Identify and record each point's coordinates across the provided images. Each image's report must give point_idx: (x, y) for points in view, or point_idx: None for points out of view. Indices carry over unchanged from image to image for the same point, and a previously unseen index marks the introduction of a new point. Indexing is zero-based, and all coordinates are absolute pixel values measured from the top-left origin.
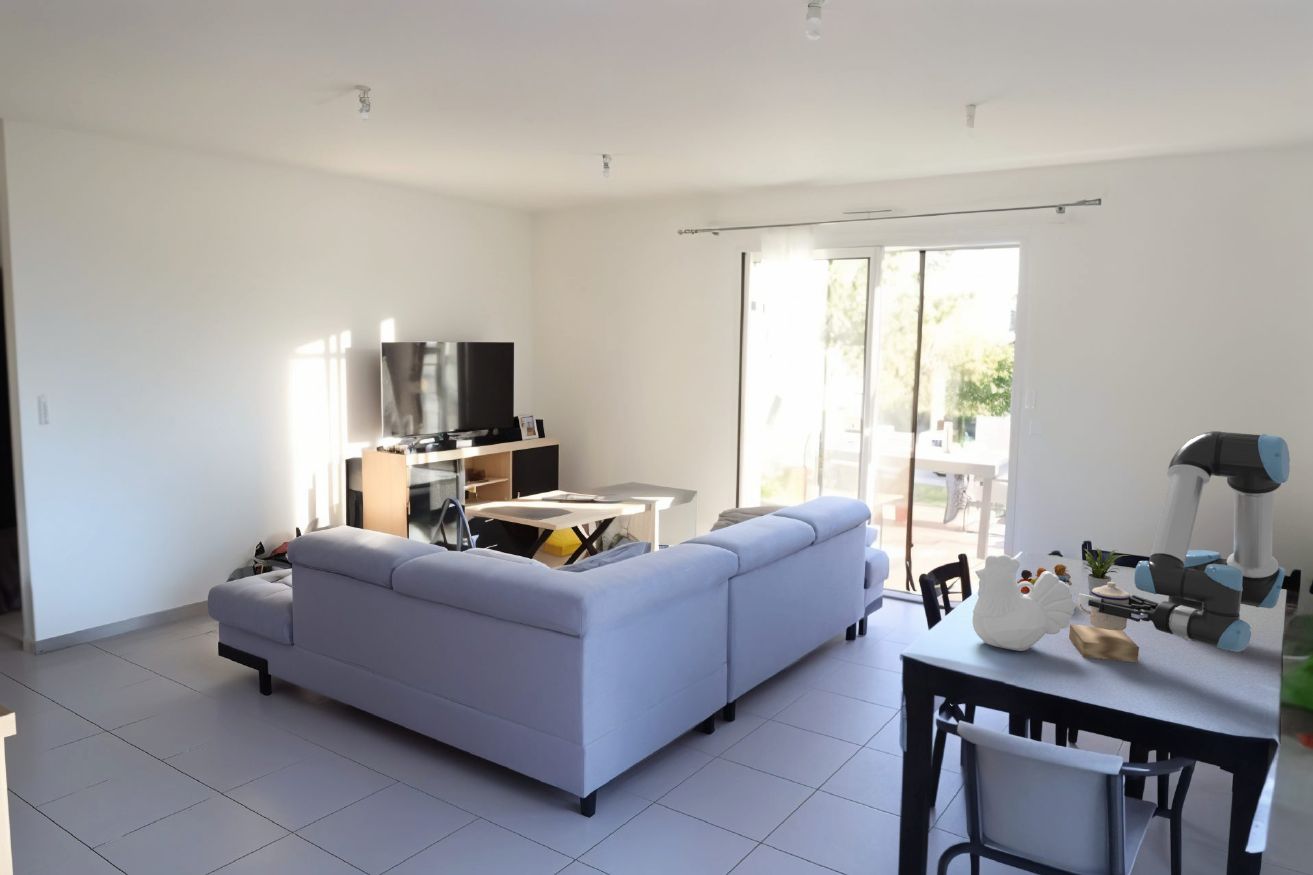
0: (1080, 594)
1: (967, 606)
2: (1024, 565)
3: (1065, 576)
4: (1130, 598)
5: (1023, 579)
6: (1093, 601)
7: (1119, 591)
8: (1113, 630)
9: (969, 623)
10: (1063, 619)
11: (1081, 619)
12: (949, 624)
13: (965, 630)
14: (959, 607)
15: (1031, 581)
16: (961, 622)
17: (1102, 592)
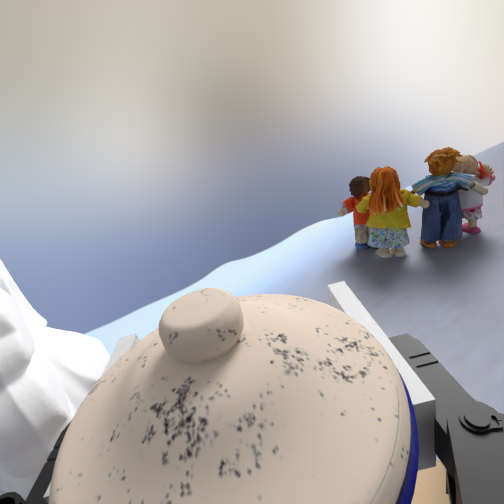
0: (119, 346)
1: (247, 259)
2: (489, 153)
3: (458, 177)
4: (462, 502)
5: (354, 197)
6: (50, 460)
7: (191, 464)
8: (430, 500)
9: (161, 315)
10: (3, 484)
11: (457, 303)
12: (124, 317)
13: (110, 343)
14: (230, 262)
15: (361, 201)
16: (154, 311)
17: (91, 407)
